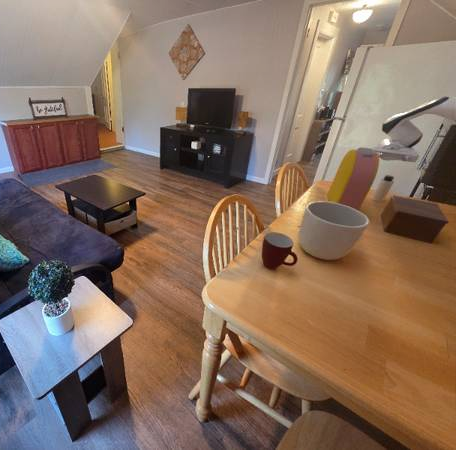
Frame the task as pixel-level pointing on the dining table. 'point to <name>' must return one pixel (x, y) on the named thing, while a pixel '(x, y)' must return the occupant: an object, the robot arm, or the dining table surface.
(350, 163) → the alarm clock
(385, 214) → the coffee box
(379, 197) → the pepper mill
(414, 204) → the box lid
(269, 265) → the mug
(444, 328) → the dining table surface
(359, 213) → the planter
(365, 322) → the dining table surface
